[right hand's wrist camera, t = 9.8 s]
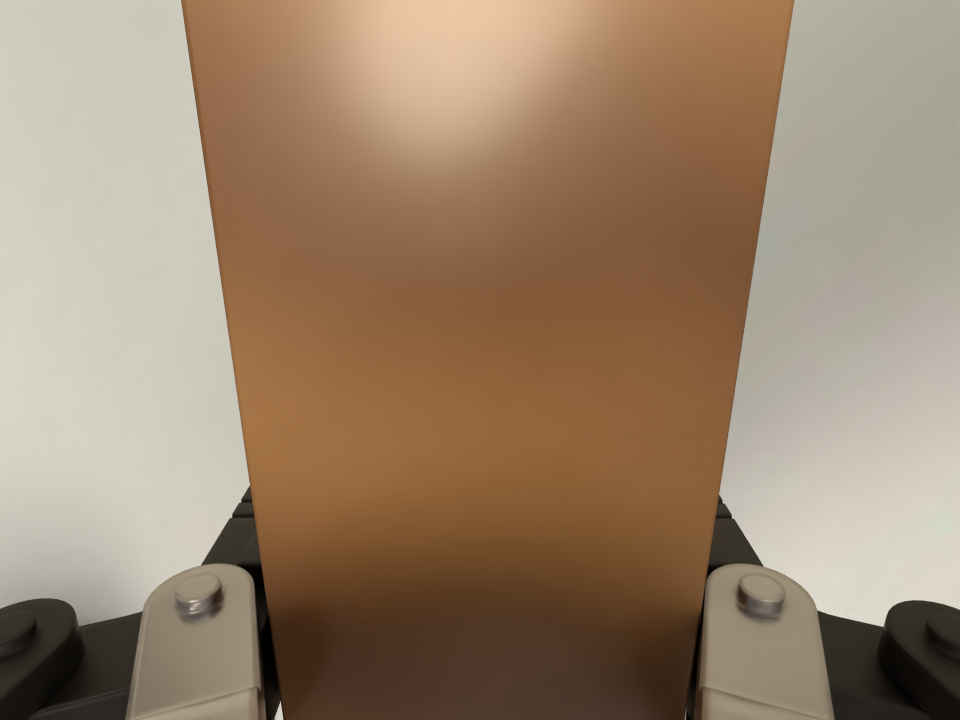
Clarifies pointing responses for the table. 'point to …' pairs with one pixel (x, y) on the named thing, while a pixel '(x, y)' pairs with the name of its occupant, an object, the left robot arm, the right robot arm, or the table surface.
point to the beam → (486, 334)
